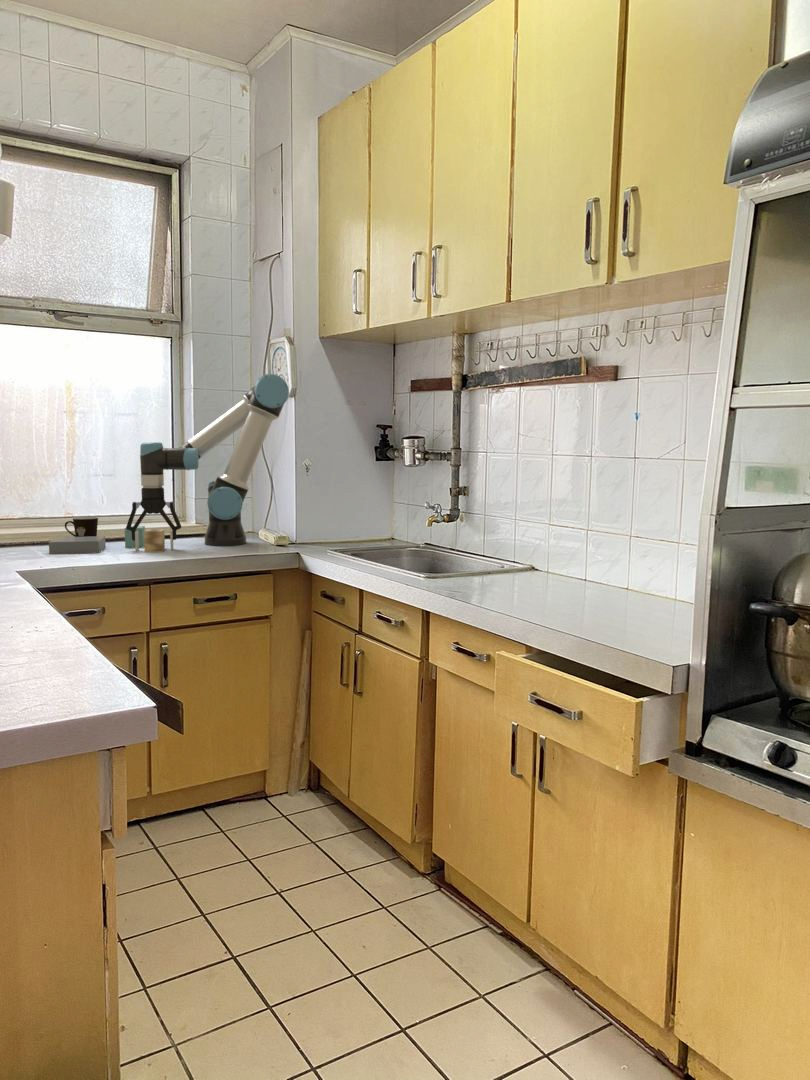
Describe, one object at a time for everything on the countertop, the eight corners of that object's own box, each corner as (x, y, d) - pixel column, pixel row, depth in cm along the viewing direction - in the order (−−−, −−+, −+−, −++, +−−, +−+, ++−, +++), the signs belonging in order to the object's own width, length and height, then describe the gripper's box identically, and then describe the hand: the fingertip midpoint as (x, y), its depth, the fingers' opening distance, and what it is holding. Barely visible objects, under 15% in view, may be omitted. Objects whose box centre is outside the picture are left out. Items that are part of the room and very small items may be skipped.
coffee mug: (104, 544, 302) (103, 517, 300) (84, 547, 294) (82, 519, 293) (84, 542, 308) (82, 515, 307) (63, 545, 301) (62, 517, 299)
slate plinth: (105, 547, 295) (105, 536, 295) (99, 552, 282) (98, 541, 281) (58, 548, 292) (57, 537, 292) (49, 553, 279) (48, 542, 278)
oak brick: (164, 548, 294) (164, 529, 293) (162, 551, 286) (162, 531, 285) (147, 548, 292) (146, 529, 291) (144, 552, 285) (144, 532, 284)
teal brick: (145, 544, 304) (144, 525, 303) (142, 547, 296) (142, 528, 295) (128, 544, 302) (127, 526, 302) (125, 547, 295) (124, 528, 294)
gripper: (188, 486, 292) (189, 547, 295) (118, 486, 288) (121, 548, 290) (186, 487, 285) (188, 550, 288) (115, 487, 280) (118, 551, 283)
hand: (154, 549), depth 289 cm, fingers open, 11 cm apart
